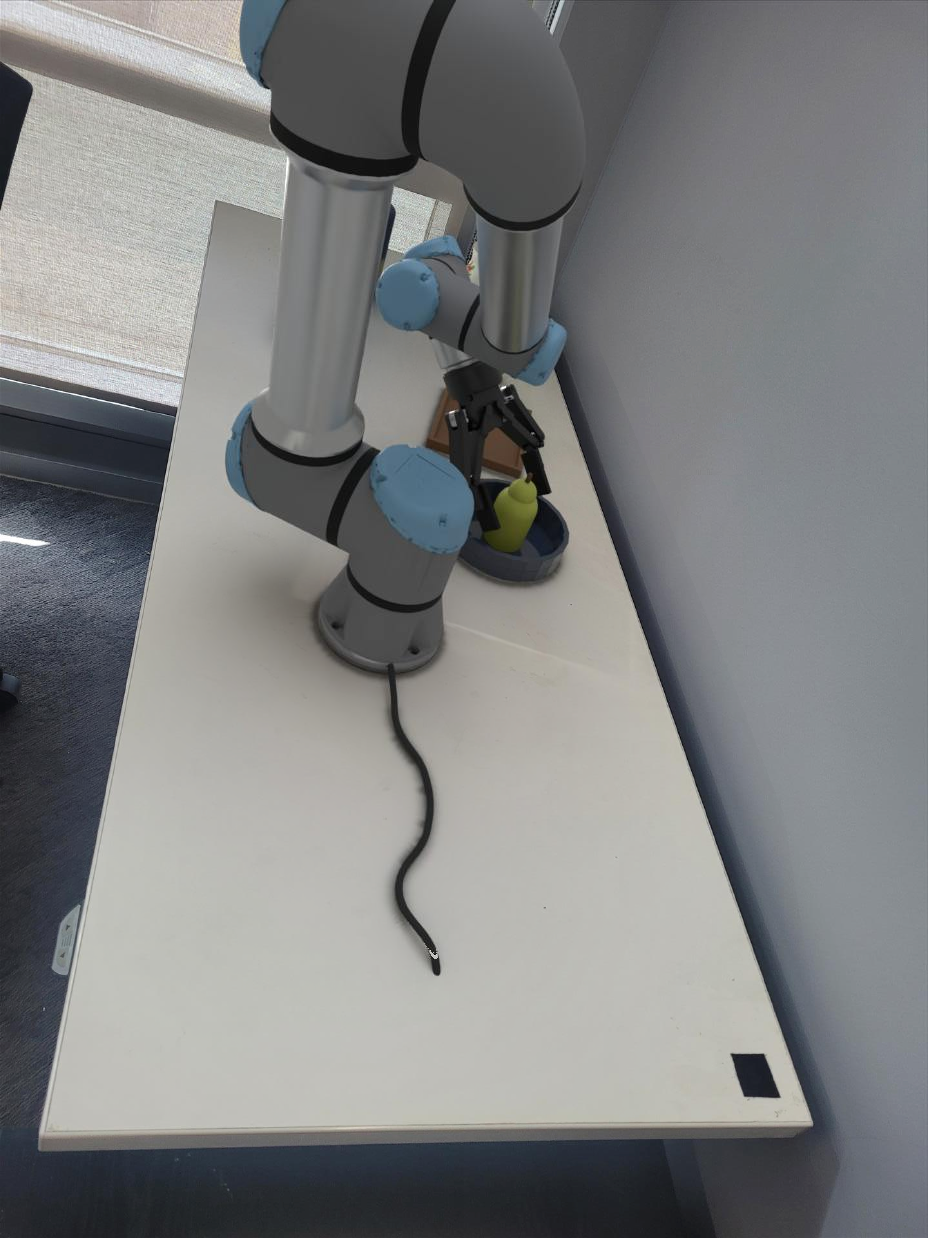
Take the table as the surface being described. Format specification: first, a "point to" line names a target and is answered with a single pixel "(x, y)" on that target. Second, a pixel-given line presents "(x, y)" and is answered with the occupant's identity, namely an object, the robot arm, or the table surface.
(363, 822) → the table surface
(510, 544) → the pear
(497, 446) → the tray
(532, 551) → the bowl
